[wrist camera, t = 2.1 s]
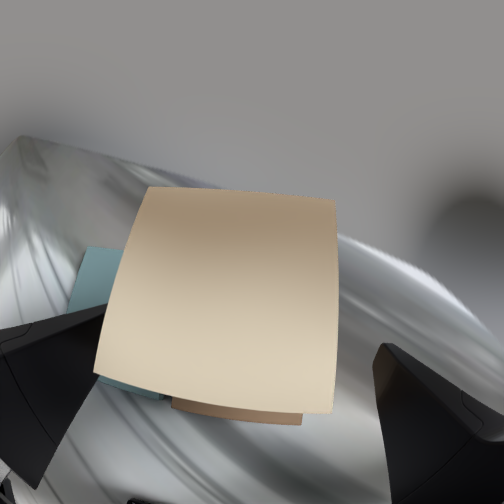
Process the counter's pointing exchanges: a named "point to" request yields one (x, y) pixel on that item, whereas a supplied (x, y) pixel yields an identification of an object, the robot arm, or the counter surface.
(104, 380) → the teal mat
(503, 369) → the counter surface
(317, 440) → the counter surface
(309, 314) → the maple block
